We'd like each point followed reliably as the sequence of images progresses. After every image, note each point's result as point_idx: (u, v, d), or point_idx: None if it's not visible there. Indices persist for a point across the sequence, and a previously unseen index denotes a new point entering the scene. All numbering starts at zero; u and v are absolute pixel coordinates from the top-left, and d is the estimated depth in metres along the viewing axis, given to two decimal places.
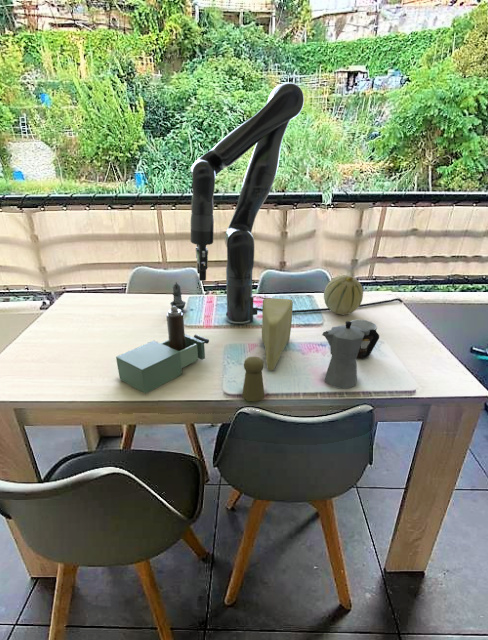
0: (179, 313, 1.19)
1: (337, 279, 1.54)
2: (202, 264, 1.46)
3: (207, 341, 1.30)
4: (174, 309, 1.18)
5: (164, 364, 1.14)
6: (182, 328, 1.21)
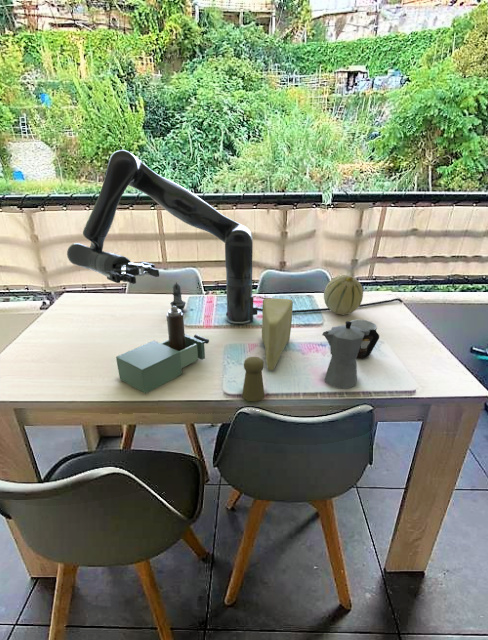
0: (179, 313, 1.19)
1: (337, 279, 1.54)
2: (150, 269, 1.26)
3: (207, 341, 1.30)
4: (174, 309, 1.18)
5: (164, 364, 1.14)
6: (182, 328, 1.21)
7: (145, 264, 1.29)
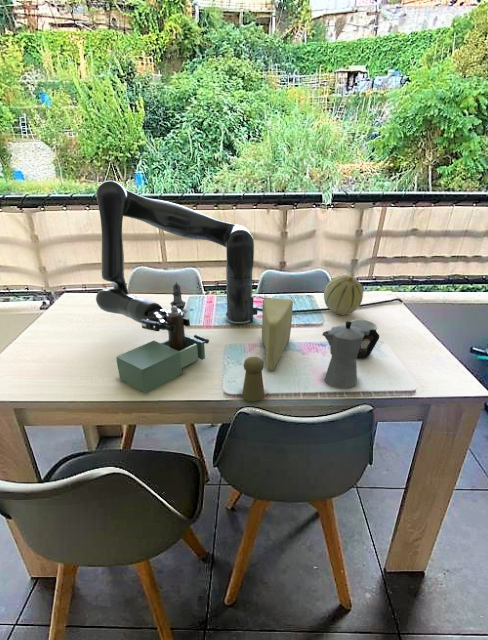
0: (179, 313, 1.19)
1: (337, 279, 1.54)
2: None
3: (207, 341, 1.30)
4: (174, 309, 1.18)
5: (164, 364, 1.14)
6: (182, 328, 1.21)
7: None
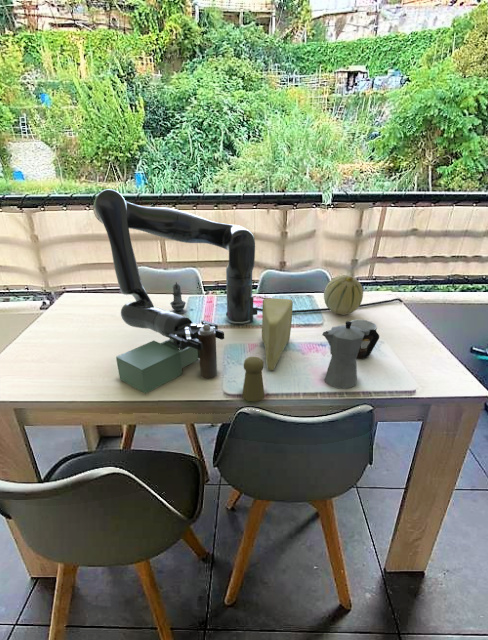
0: (212, 331, 1.13)
1: (337, 279, 1.54)
2: None
3: None
4: (207, 327, 1.12)
5: (164, 364, 1.14)
6: (214, 347, 1.15)
7: None
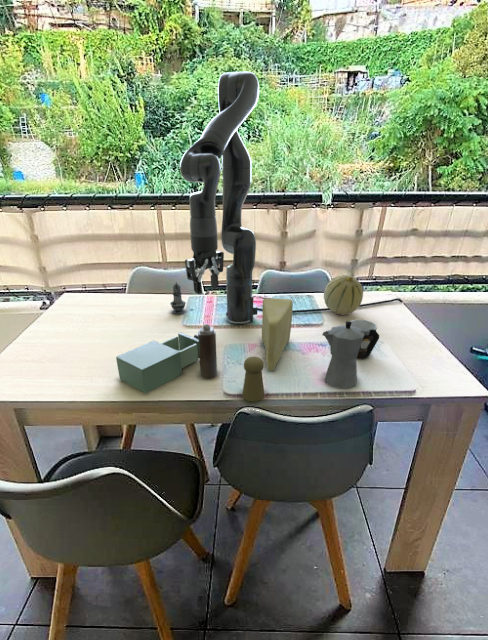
0: (212, 331, 1.13)
1: (337, 279, 1.54)
2: (214, 277, 1.26)
3: None
4: (207, 327, 1.12)
5: (164, 364, 1.14)
6: (214, 347, 1.15)
7: (220, 261, 1.25)
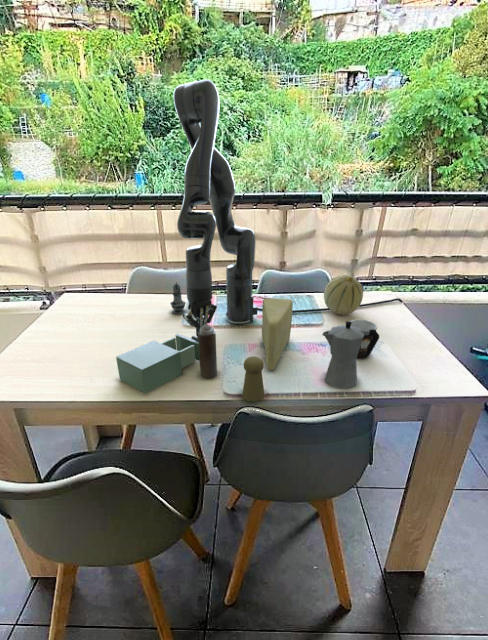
0: (212, 331, 1.13)
1: (337, 279, 1.54)
2: None
3: None
4: (207, 327, 1.12)
5: (164, 364, 1.14)
6: (214, 347, 1.15)
7: (210, 312, 1.29)
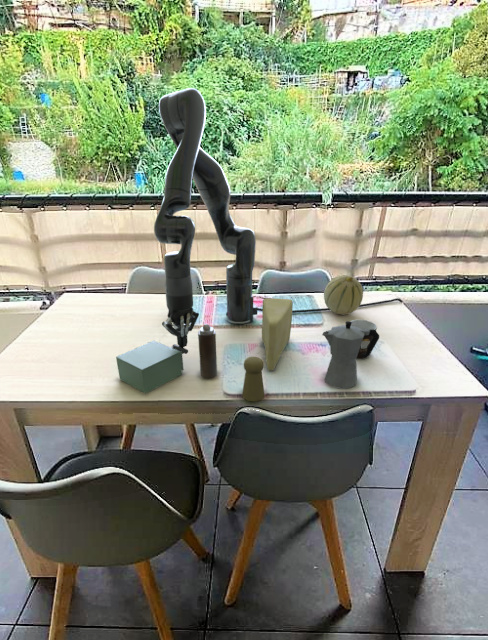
0: (212, 331, 1.13)
1: (337, 279, 1.54)
2: None
3: (186, 351, 1.24)
4: (207, 327, 1.12)
5: (164, 364, 1.14)
6: (214, 347, 1.15)
7: (192, 320, 1.24)
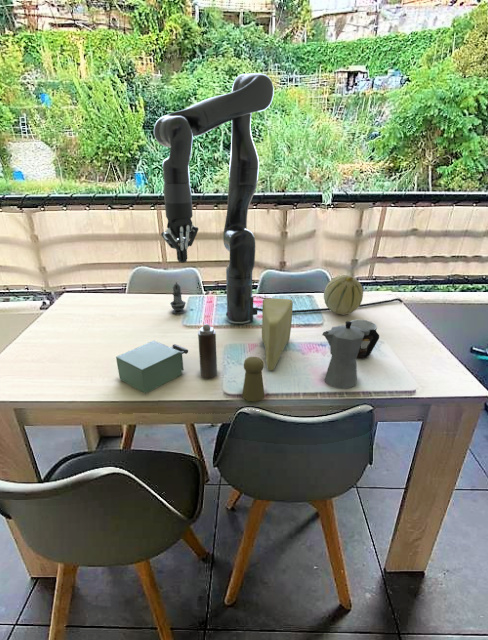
0: (212, 331, 1.13)
1: (337, 279, 1.54)
2: None
3: (186, 351, 1.24)
4: (207, 327, 1.12)
5: (164, 364, 1.14)
6: (214, 347, 1.15)
7: (192, 234, 1.23)
